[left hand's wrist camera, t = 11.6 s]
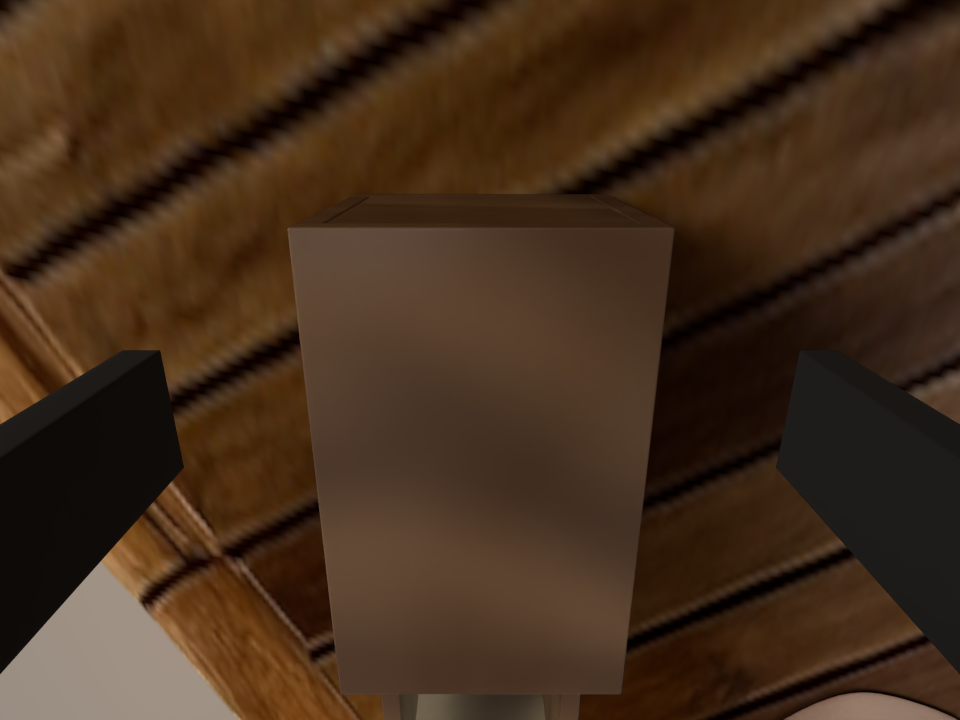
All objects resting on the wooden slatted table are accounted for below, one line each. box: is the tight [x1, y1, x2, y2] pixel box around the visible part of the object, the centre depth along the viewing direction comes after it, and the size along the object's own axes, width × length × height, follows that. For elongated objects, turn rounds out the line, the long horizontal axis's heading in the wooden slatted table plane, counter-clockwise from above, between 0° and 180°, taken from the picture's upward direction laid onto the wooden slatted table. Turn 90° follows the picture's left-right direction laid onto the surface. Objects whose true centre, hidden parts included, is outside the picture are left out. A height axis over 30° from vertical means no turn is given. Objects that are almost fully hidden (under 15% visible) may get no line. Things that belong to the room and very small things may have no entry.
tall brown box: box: [288, 194, 675, 694], centre depth 25 cm, size 18×11×10 cm, turn 0°
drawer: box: [381, 694, 580, 720], centre depth 29 cm, size 22×10×8 cm, turn 0°
